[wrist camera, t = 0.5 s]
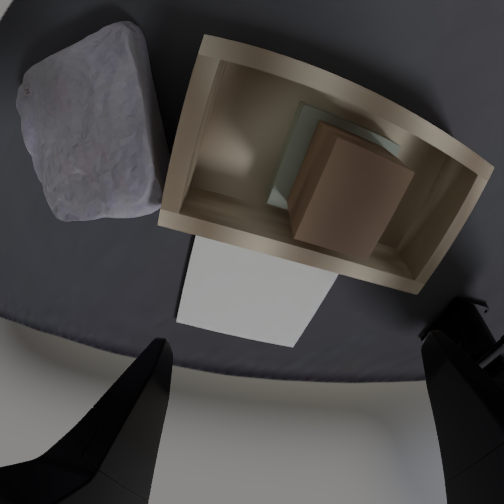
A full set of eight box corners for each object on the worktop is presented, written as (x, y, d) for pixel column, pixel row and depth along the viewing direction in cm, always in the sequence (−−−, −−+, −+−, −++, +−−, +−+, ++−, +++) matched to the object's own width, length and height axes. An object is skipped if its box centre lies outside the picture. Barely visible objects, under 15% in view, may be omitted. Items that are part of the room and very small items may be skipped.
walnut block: (383, 147, 15) (414, 172, 12) (348, 221, 18) (366, 260, 15) (319, 119, 15) (337, 137, 11) (286, 201, 17) (293, 238, 14)
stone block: (86, 204, 22) (193, 191, 20) (48, 234, 19) (159, 227, 16) (49, 68, 16) (157, 16, 14) (1, 79, 12) (108, 9, 10)
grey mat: (348, 253, 22) (349, 256, 22) (292, 345, 28) (292, 347, 28) (201, 212, 21) (201, 214, 20) (176, 319, 27) (176, 321, 26)
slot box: (456, 144, 17) (494, 167, 13) (396, 256, 22) (417, 294, 19) (217, 41, 14) (204, 34, 11) (176, 191, 20) (157, 225, 16)
